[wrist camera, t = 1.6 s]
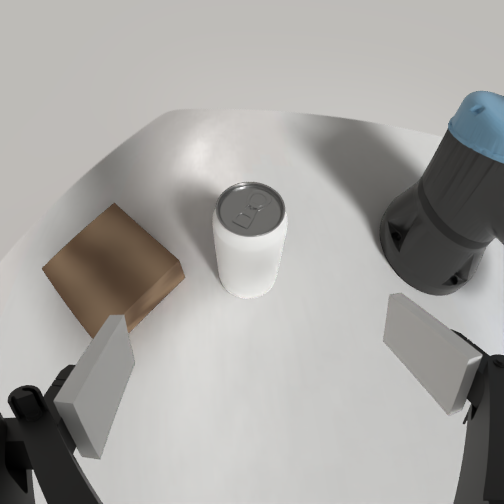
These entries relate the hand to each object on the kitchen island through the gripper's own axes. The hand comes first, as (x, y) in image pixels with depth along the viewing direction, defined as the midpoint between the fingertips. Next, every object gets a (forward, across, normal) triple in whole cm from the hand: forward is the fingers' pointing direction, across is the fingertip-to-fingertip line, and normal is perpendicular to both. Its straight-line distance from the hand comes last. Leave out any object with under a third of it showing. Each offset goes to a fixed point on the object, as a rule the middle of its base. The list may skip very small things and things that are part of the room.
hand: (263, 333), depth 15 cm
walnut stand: (+21, -15, -4) cm, 26 cm away
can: (+21, +1, -4) cm, 21 cm away
